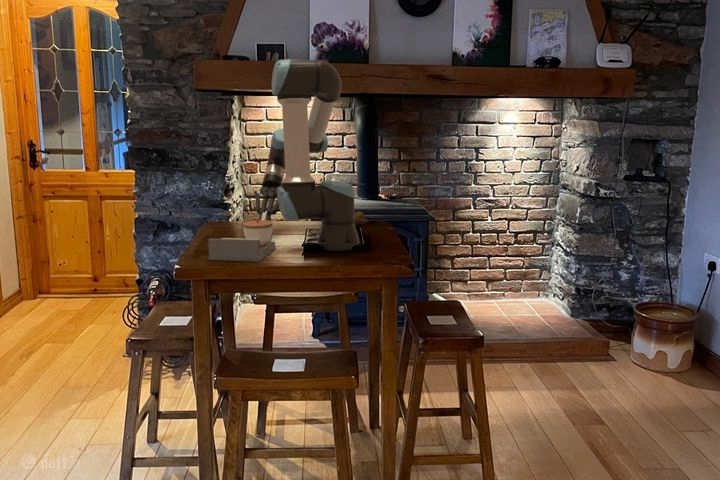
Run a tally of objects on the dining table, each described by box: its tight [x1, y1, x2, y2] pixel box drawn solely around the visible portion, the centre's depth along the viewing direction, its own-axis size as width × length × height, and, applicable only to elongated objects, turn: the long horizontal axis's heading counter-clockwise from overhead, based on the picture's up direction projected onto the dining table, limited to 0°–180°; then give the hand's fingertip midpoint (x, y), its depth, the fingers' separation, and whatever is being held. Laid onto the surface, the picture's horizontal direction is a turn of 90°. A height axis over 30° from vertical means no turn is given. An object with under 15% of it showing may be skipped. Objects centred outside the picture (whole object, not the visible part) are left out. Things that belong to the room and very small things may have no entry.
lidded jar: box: [242, 217, 273, 246], centre depth 235 cm, size 11×11×9 cm
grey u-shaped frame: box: [207, 237, 276, 263], centre depth 219 cm, size 17×18×7 cm
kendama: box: [354, 211, 369, 227], centre depth 267 cm, size 6×10×20 cm
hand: (262, 228), depth 242 cm, fingers closed
